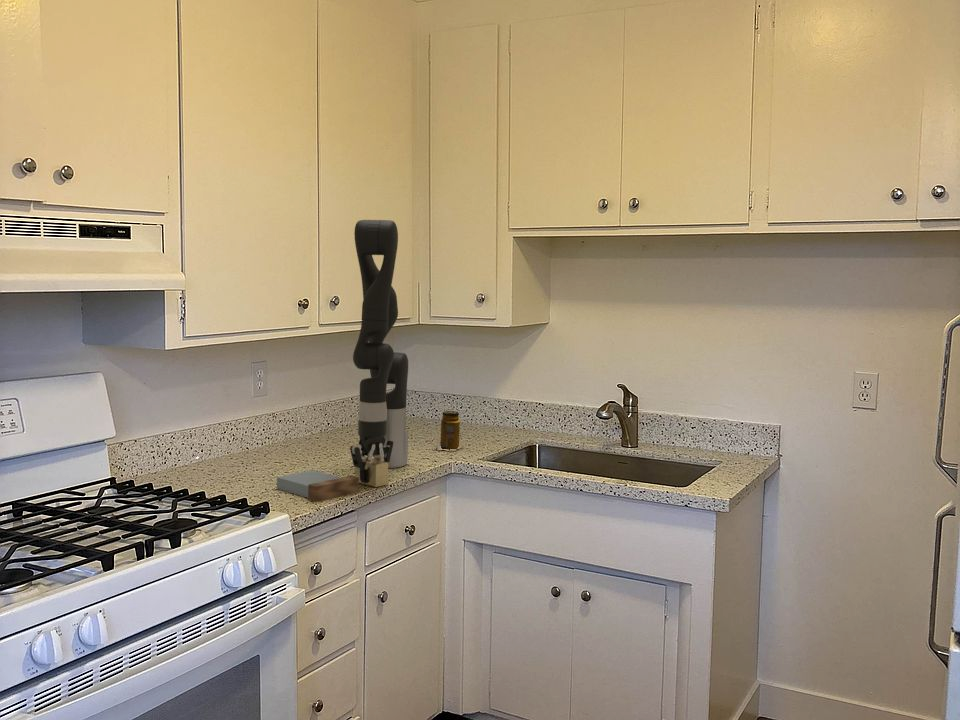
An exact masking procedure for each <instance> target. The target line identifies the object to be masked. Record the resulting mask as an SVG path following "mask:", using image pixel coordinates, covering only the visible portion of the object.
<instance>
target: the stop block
mask: <svg viewBox="0 0 960 720" xmlns="http://www.w3.org/2000/svg"><path fill="white" fill-rule="evenodd" d="M357 493H360V483H359V477H355V475H347V476H343V477H342V478H337V479H333V480H328V481H323V482H318V483H313V484H309V485H308V498H307V499H308V501H311V502H314V503H318V502H322V501H326V500H331V499H336V498H340V497H345V496H349V495H353V494H357Z"/></svg>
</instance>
